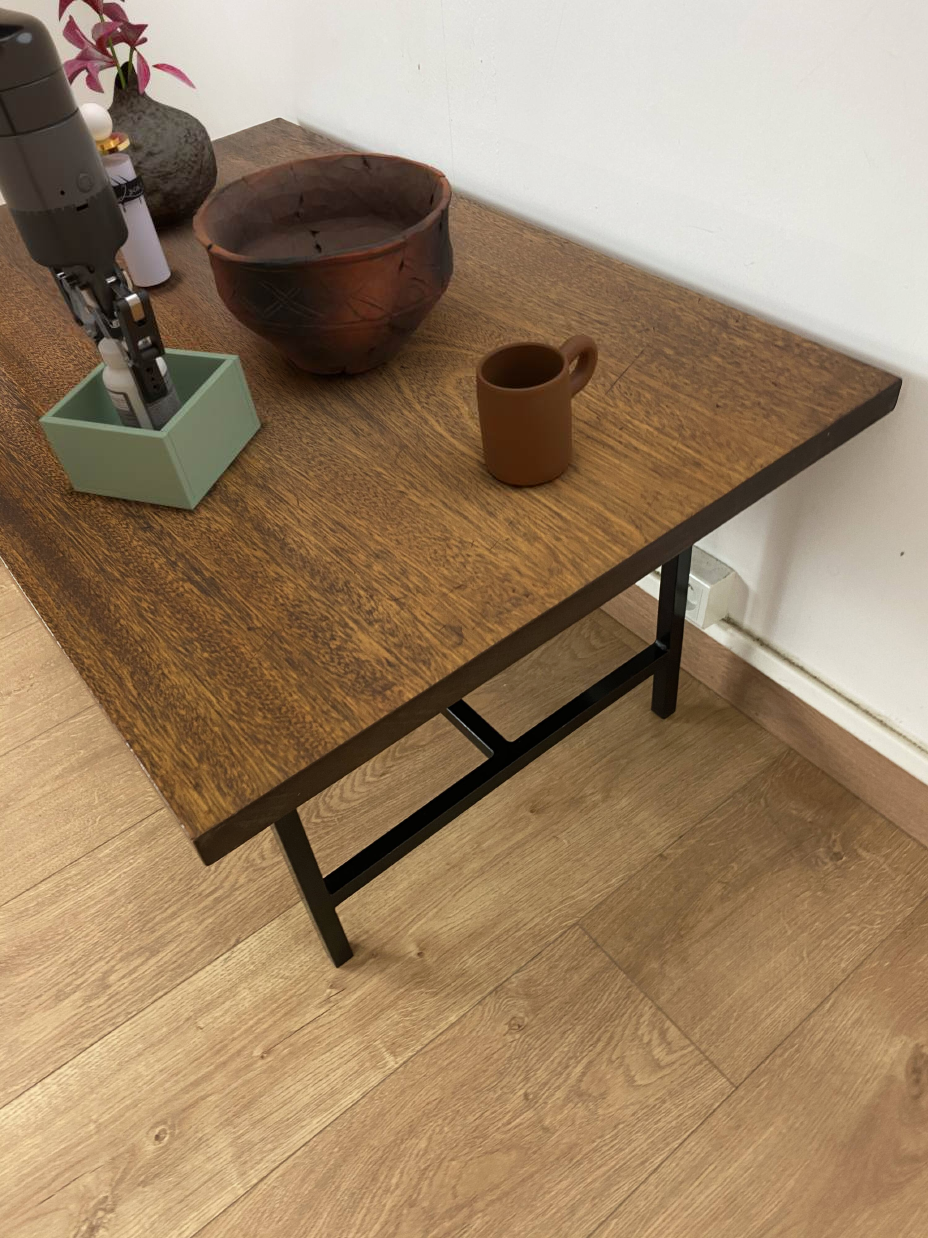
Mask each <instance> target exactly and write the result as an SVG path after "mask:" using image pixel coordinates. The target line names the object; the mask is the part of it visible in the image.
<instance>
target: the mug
mask: <svg viewBox="0 0 928 1238" xmlns="http://www.w3.org/2000/svg"><path fill="white" fill-rule="evenodd" d="M598 358H599V350H598V347H597V343H596V342H595V339H594V338H592V337H591V336H589V335H588V334H586V333H585V334H582V333H581V334H575V335H573V336H571V337H570V336H569V337H568V338H567V339H566V340H564V342H563V343H562V344H561V345H560V346H559V347H556V346H553V345H551V344H548V343H544V342H540V341H539V342H538V341H517V342H511V343H507V344H503V345H500V346H498V347H495V348H493V349H491V350H490V351H488V352H486V354H484V355H483V356H482V357H481V358H480V360H479V361H478V363H477V365H476V369H475V378H476V379H475V381H476V382H475V383H476V385H475V386H476V401H477V409H478V410H477V411H478V420H479V428H480V435H481V444H482V445H481V446H482V453H483V459H484V463H485V466H486V468H487V470H488V471H489V472H490V474H491V475H492V476H493V477H495V478H496V479H497V480H499V481H501V482H504V483H506V484H510V485H515V486H536V485H541V484H544V483H548V482H549V481H552V480H554V479H556V478H558V477H559V476H560V475H561V474H563V473H564V471H566V469H567V467H569V464H570V462H571V459H572V455H573V417H572V416H573V413H572V411H573V410H572V407H573V405H572V400H573V398H574V397H575V396H576V395H577V394H579V393H580V392H581V391H583V390H584V388H586V386H587V385H588V384H589V382H590V381H591V379H592V377H593V375H594V373H595V371H596V368H597V364H598ZM576 359H577V362H576V364H575V367H574V368H573V370H572V371H571V372H570V366H571V365H572V364H573V362H575V360H576Z"/></svg>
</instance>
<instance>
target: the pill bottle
mask: <svg viewBox="0 0 928 1238" xmlns="http://www.w3.org/2000/svg"><path fill="white" fill-rule="evenodd" d="M124 340H125V338H124ZM141 344H142V342H141V340H140V341H139V343H138V345H141ZM98 349H99V351H98V353H99V352H100V353H99V355H100V354H101V355H100V357H101V356H102V358H101V360H102V359H103V360H102V362H103V361H104V363H105V364H106V365H107V366H106V367H105V369H104V371H103V381H104V384H105V386H106V389H107V391H108V393H109V395H110V397H111V400H112V402H113V404H114V406H115V408H116V411H117V413H118V415H119V417H120V420H121V422H122V424H123V426H124V427H131V428H139V429H146V430H154V431H160V430H161V429H162V428H163V427H164V426H165V425H166V424H167V423H168V422H169V421H170V420H171V418H172V417H173V416H174V415H175V414H176V413H177V412H178V411H179V410H180V409H181V408H182V405H181V402H180V400H179V397H178V395H177V392H176V390H175V387H174V385H173V382H172V379H171V377H170V374H169V371H168V369H167V366H166V364H165V362H164V360H163V359H162V357H159V358H156V361H157V364H158V366H159V369H160V371H161V374H162V376H163V379H164V381H165V384H166V387H167V389H168V393H167V395H166V396H165V397H163V398H161V399H159V400H157V401H155V402H153V403H151V404H148V403H146V402H145V401H143V400H142V399H141V397H140V394H139V392H138V390H137V387H136V385H135V383H134V380H133V378H132V375H131V373H130V371H129V368H128V366H127V364H126V362H125V361H124V358H123V356H122V354H121V352H120V350H119V349H118V347H117V345H116V343H115V342H114V341H112V340H108V339H106V338H105V337H104V338H103V339H102V340H101V341H100V343H99V345H98ZM98 349H97V350H98Z"/></svg>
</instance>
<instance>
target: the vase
mask: <svg viewBox="0 0 928 1238" xmlns="http://www.w3.org/2000/svg"><path fill="white" fill-rule="evenodd" d="M75 1H77V0H58V22H59V23H60V22H61V20H62V18H63V15H64V13H65V12H66V10H67V8H68V7H69V6H70V5H71V4H72V3H74V2H75ZM81 1H82V2H83V3H85V4H86V5H88V7H90V8H91V9H92V10H93V11H94V12H95V13H96V14H97V15H98V17H99V20H100V21H99V22H96V23H94V25H93V27H92V28H91V39H92V40H93V41H94V42H92V41H91V40H89V38H88V37H87V36H86V35H85V34H84V32H82V30H81V29H80V28H79V25H78V24H77V22H76V21H75V19H74V16H73V15H71V14H69V15H68V21H67V22H66V24H65V26H64V27H63V30H62V36H63V38H64V39H65V40H66V41H67V42H68V43H69V44H71V45H72V46H73V47H76V48H77V49H80V51H79V53H77V55H76V56H75V58H72V59H69V60H65V62H63V63H62V65H63V67H64V70H65V73H66V75H67V78H68V81H69V83H70V86H71V87H72V85H73V83H74V81H75V80H76V78H77V77H78V76H79V75H80V74H81V73H82V72H84V71H85V72H86V73H87V75H86V77H85V85H86V86H87V87H88V88H89V90H91V91H93V92H96V93H99V94H105V90H104V89H103V86H102V83H101V81H100V78H99V73H100V72H102V71H105V70H107V69H111V68H116V69H117V72H116V75H115V77H114V83H113V94H112V102H111V104H110V106H109V107H108V108H107V109H106V110H107V111H108V113H109V114H110V117H111V119H112V124H113V127H112V132H120V133H125V134H127V135H128V137H129V140H130V144H129V145H128V146H127V147H126V148H125V149H123V150H121V151H119V152H116V153H123V154H127V155H129V157H130V160H131V163H132V165H133V168H134V171H135V174H136V177H137V176H138V175H139V174H140V173H141V176H142V179H143V182H144V184H145V187H146V194H147V195H146V194H145V193H144V194H143V196H144V199H145V202H146V205H147V208H148V211H149V213H150V216H151V219H152V222H153V225H154V228H155V230H163V229H170V228H174V227H175V228H176V227H178V226H180V225H183V224H185V223H187V222H188V221H190V220H191V219H192V218H193V217H194V211H195V210H197V209H199V208H200V207H201V205H202V204H203V203H204V202H205V201H206V200H207V199H208V197H209V196H210V194H211V193H212V192H213V190H214V189H215V187H216V186H217V185H216V184H217V178H218V166H217V159H216V155H215V150H214V147H213V143H212V140H211V136H210V135H209V133H208V130H207V128H206V126H204V124H203V123H202V122H201V121H200V120H199V119H198V118H196V117H195V116H193V115H192V114H190V113H188V112H187V111H184V110H181V109H179V108H176V107H173V106H170V105H167V104H165V103H161V102H160V101H157V100H154V99H153V98H152V97H150V96H149V95H148V93H147V92H146V88H147V87H148V84H149V82H150V80H151V70H150V69H151V68H154V69H157V70H160V71H162V72H165V73H166V74H168V75H171V76H172V77H174V78H176V79H177V80H179V81H181V82H182V83H183V84H185V85H186V86H188V87H189V88H192V89H194V90H197V87H196V86H195V84H194V83H193V82H192V80H190V79H189V77H188V76H187V75H186V74H185V73H184V72H183V71H182V70H181V69H179V68H177V67H175V66H174V65H171V64H169V63H163V62H162V63H161V62H160V63H155V64H152V65H151V68H150V66H149V64H148V62H147V60H146V59H145V57H144V56H143V55H142V54H141V52H140V51H139V50H138V49H137V47H139V46H141V45H143V44H146V43H147V42H148V37H147V36H142V35H143V33H144V32H145V30H146V29H147V28H148V27H149V24H148V23H137V24H136V23H132V22H130V21H129V17H128V16H127V14H126V11H125V10H124V9H123V7H122V6H121V5H120V4H119V3H117V2H114V1H113V2H104V0H81ZM119 1H120V2H122V3H125V2H126V0H119ZM104 16H105V17H107V18H108V19H109V20H110V21H106V20H105V18H104ZM118 29H119V30H120V31H119V30H118ZM123 43H124V44H126V45H127V46H128V47H129V55H128V60H127V61H125V62H123V63H122V64H121V65H120V62H119V59H118V57H117V54H116V50H115V48H114V47H115V46H117V45H119V44H123ZM108 49H110V51H109V50H108ZM134 52H136V68H135V66H134V64H133V58H134ZM116 153H114V154H116ZM139 185H140V184H139ZM140 187H141V188H142V185H141V186H140ZM143 189H144V187H143ZM142 192H143V191H142ZM147 197H148V198H147Z"/></svg>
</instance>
